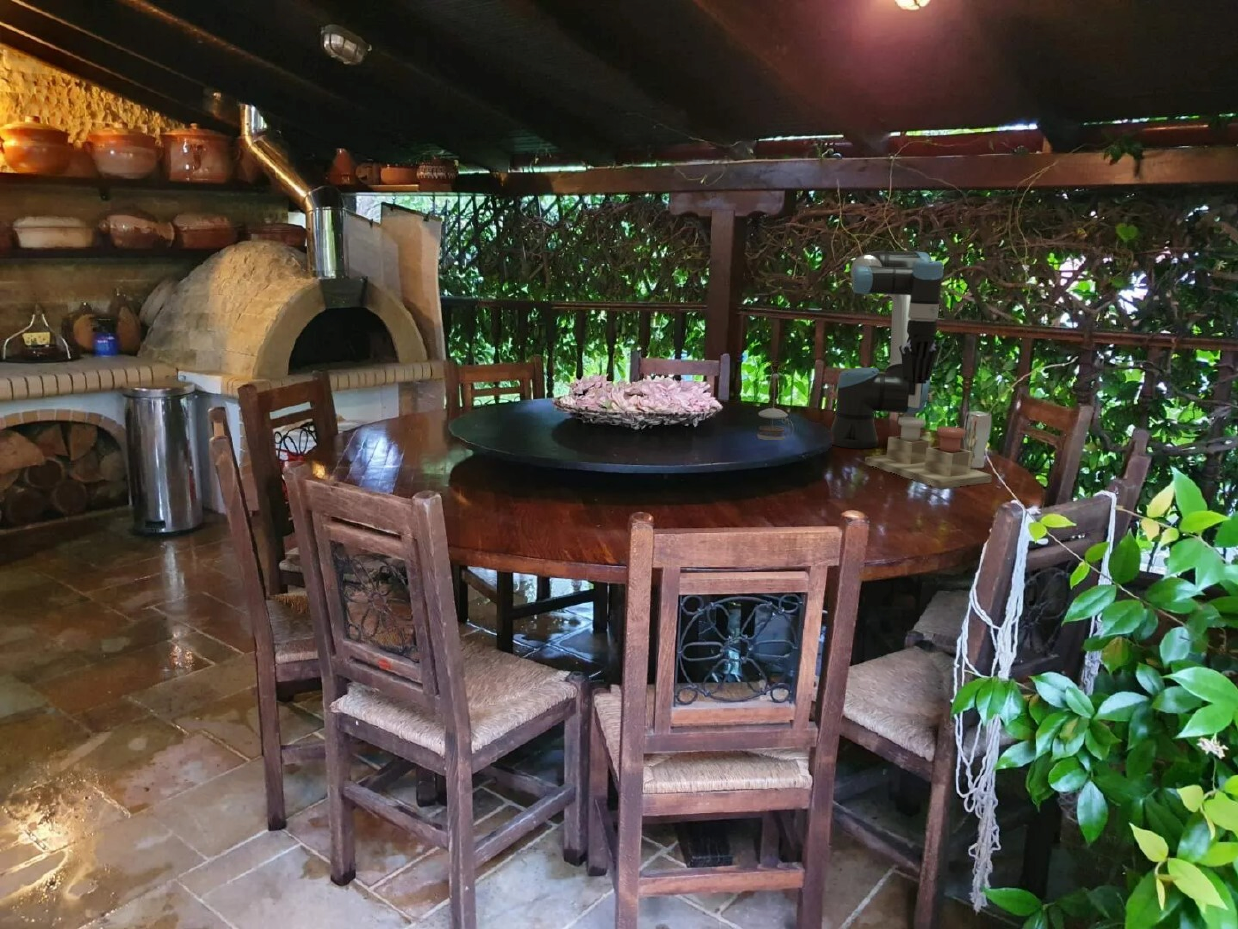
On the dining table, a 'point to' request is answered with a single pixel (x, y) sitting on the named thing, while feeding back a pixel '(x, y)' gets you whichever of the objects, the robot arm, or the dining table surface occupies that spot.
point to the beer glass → (977, 436)
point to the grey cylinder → (910, 428)
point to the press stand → (928, 464)
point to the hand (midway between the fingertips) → (913, 406)
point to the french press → (772, 414)
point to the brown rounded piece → (950, 438)
